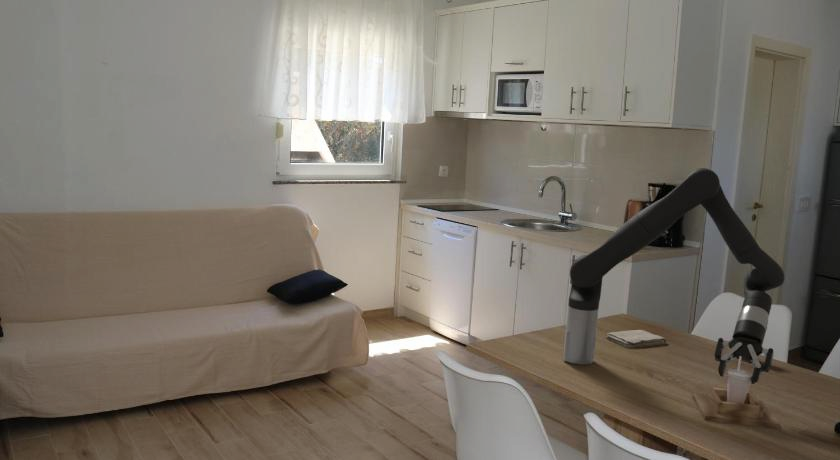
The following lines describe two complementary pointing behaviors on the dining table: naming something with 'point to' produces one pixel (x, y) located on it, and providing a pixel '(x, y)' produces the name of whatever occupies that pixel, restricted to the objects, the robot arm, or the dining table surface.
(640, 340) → the washcloth
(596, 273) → the robot arm
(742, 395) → the smoothie
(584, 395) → the dining table surface
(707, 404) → the open wooden box
